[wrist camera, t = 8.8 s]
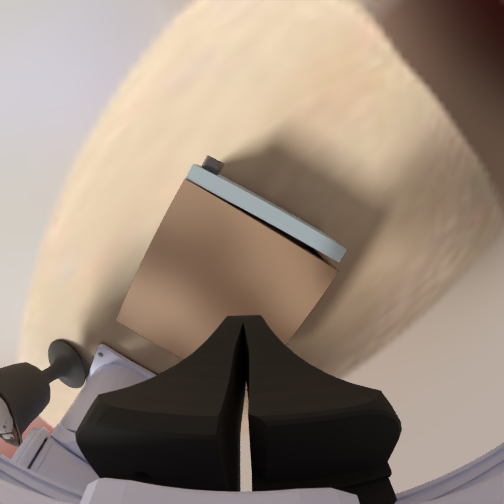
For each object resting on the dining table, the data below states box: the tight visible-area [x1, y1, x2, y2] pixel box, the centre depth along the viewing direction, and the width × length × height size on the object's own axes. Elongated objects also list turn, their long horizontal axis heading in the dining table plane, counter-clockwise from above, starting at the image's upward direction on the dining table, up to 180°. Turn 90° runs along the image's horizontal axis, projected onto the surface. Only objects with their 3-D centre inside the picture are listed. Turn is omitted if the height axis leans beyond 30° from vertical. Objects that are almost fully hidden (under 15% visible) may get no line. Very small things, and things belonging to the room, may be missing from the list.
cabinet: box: [116, 179, 339, 389], centre depth 17 cm, size 9×9×5 cm
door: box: [186, 155, 347, 263], centre depth 16 cm, size 2×9×5 cm, turn 61°
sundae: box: [0, 340, 85, 446], centre depth 14 cm, size 7×7×15 cm
